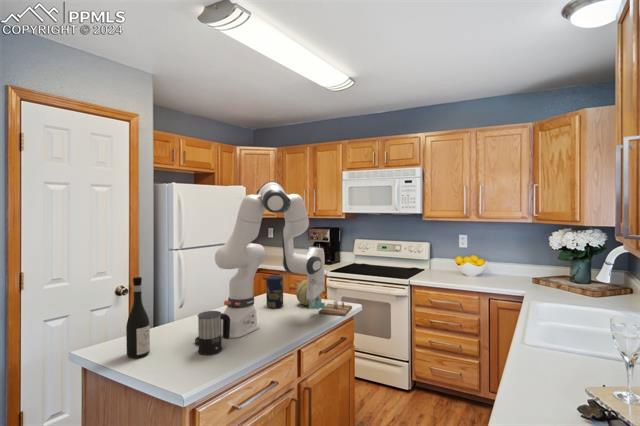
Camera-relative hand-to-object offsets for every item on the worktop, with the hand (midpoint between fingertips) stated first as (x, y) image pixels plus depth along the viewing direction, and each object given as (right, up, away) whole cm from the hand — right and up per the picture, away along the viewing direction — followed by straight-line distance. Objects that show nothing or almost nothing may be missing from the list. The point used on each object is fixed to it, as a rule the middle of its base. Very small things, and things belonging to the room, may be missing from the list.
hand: (315, 304), depth 192 cm
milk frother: (-43, -8, -42) cm, 61 cm away
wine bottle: (-68, -8, -49) cm, 84 cm away
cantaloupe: (-4, -6, +20) cm, 22 cm away
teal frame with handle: (+1, -2, 0) cm, 2 cm away
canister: (-23, -6, +17) cm, 29 cm away
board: (+11, -6, +9) cm, 15 cm away
